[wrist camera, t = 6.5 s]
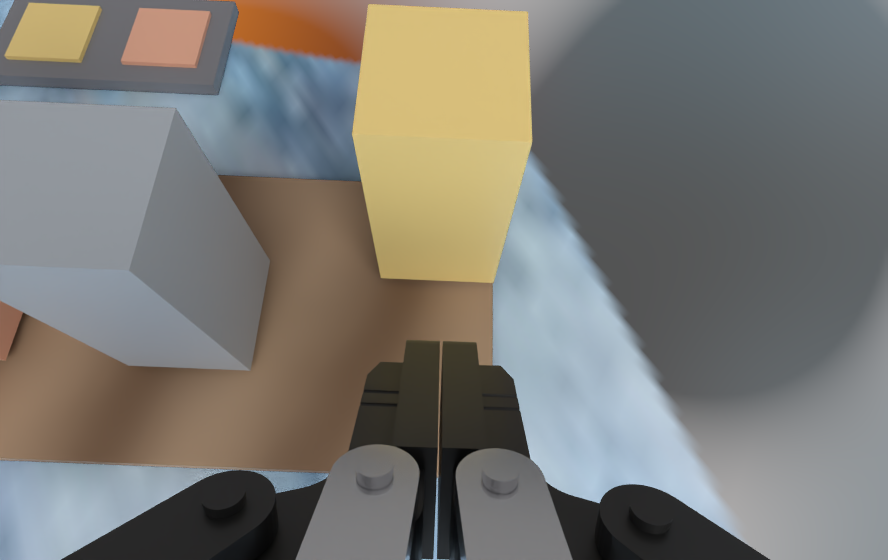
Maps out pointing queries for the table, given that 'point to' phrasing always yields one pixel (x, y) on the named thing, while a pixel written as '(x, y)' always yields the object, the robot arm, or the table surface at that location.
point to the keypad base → (274, 360)
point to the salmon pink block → (8, 327)
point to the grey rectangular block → (126, 236)
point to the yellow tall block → (442, 137)
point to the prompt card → (118, 44)
